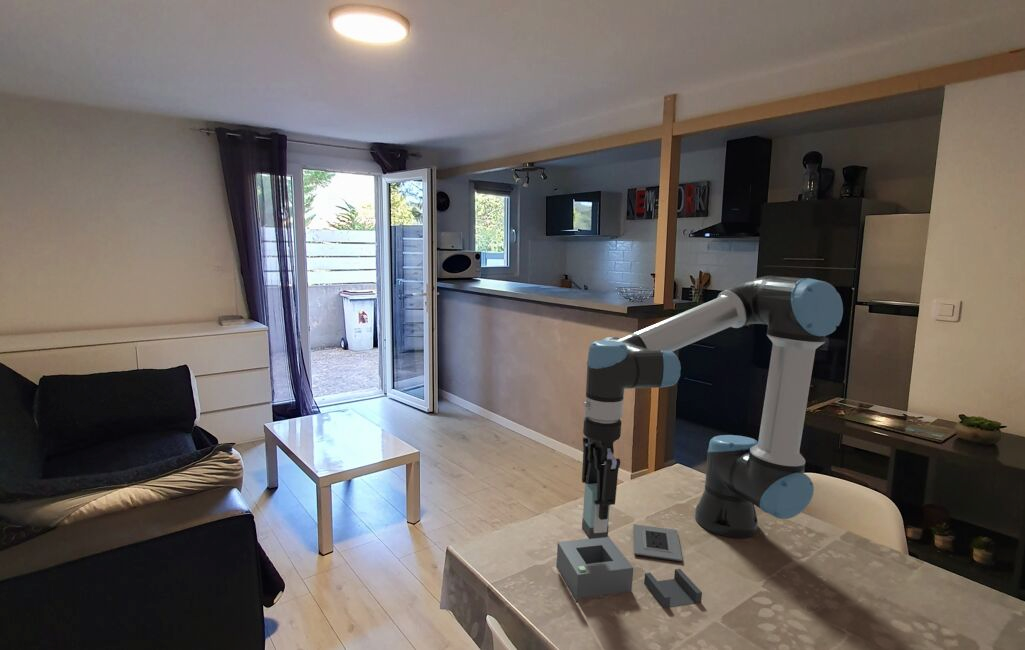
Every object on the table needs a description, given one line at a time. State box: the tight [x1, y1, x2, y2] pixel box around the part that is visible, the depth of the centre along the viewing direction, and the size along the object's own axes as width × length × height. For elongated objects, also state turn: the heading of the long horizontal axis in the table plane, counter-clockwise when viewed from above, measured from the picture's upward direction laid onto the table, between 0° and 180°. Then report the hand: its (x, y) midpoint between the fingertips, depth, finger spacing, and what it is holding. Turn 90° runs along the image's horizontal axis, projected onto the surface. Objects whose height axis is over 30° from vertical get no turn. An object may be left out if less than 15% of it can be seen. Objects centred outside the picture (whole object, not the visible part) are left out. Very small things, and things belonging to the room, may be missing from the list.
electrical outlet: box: [632, 523, 684, 563], centre depth 127 cm, size 13×10×2 cm
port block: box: [556, 535, 634, 603], centre depth 113 cm, size 12×12×6 cm
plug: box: [581, 483, 611, 539], centre depth 111 cm, size 4×4×10 cm
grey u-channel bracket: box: [643, 568, 703, 609], centre depth 109 cm, size 8×8×3 cm
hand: (595, 525), depth 112 cm, fingers closed on plug, 4 cm apart
